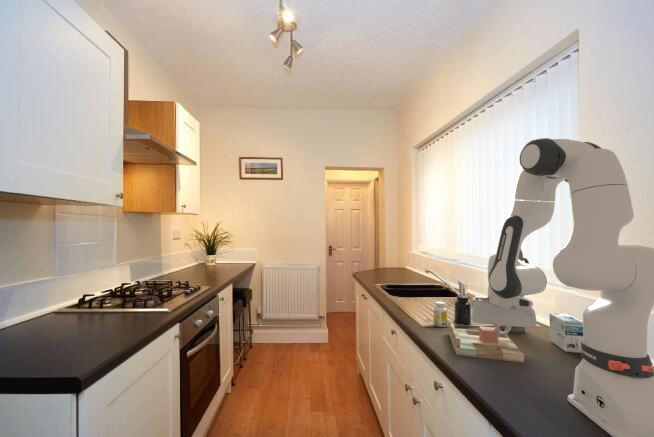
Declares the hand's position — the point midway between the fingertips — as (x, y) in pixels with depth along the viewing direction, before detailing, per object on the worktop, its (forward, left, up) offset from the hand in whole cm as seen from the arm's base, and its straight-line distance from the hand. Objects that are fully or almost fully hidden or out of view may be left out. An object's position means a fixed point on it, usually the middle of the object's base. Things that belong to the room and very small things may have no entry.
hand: (502, 337), depth 105 cm
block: (0, +4, -2) cm, 5 cm away
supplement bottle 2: (+27, +9, -4) cm, 28 cm away
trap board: (0, +7, -4) cm, 8 cm away
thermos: (+24, -10, -4) cm, 26 cm away
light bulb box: (+9, -23, -4) cm, 25 cm away
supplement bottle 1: (+21, +19, -4) cm, 28 cm away
